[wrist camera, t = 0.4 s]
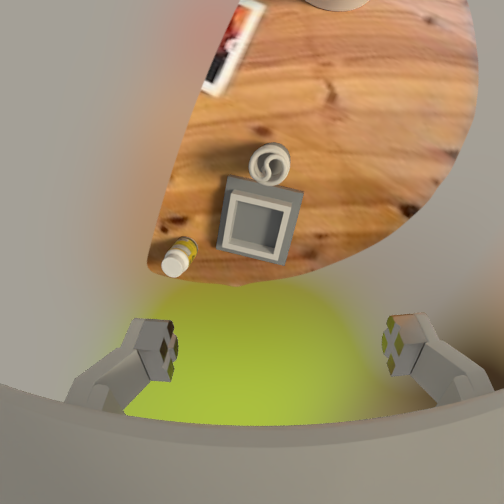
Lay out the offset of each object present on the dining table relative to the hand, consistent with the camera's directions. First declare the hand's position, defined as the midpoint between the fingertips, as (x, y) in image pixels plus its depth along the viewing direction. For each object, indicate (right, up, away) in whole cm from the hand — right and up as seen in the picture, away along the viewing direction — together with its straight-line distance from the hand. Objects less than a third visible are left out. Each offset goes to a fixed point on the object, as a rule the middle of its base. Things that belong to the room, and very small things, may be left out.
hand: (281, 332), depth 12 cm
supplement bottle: (-14, +4, +51) cm, 53 cm away
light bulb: (+3, +19, +41) cm, 45 cm away
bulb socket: (0, +9, +46) cm, 47 cm away
